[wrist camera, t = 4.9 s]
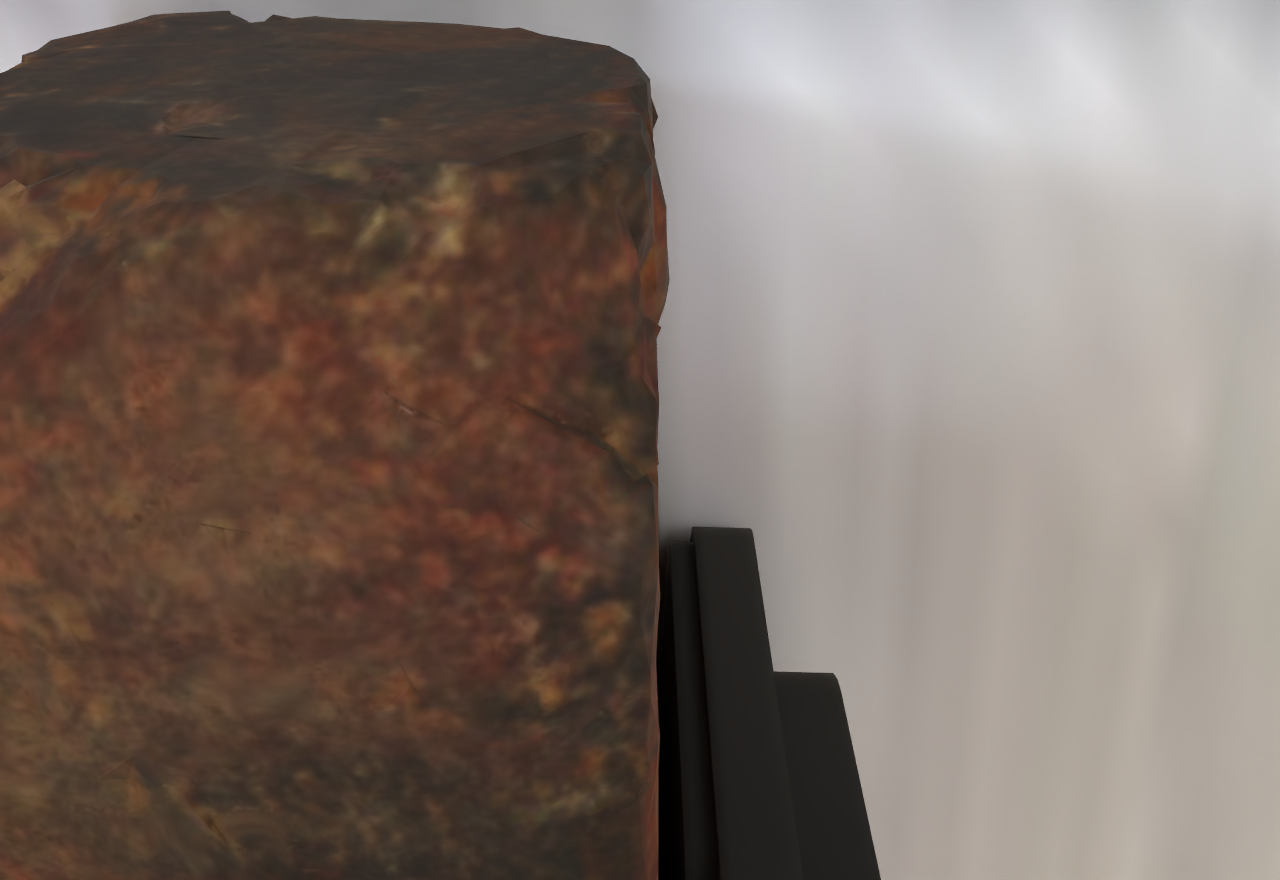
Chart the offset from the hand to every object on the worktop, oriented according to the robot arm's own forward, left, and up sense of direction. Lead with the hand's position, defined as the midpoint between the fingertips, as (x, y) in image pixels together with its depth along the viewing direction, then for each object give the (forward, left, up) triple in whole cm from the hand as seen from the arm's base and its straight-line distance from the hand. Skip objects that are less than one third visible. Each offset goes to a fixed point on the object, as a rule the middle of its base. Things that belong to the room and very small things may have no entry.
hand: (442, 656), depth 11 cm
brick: (0, -1, -1) cm, 1 cm away
